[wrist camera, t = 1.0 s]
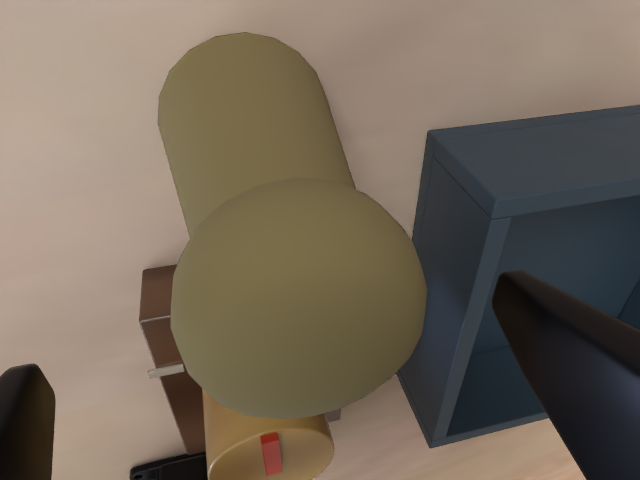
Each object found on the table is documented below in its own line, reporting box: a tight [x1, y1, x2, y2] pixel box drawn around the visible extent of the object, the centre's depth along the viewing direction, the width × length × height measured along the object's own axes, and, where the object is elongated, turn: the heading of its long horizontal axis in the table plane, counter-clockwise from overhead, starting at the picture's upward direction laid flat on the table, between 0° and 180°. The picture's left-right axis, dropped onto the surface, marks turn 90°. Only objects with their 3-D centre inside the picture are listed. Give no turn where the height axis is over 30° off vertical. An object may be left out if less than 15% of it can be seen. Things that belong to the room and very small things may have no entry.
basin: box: [396, 105, 640, 448], centre depth 23 cm, size 16×16×5 cm
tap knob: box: [202, 388, 334, 480], centre depth 18 cm, size 4×4×5 cm
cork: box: [158, 32, 428, 419], centre depth 13 cm, size 6×6×11 cm
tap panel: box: [139, 265, 341, 455], centre depth 22 cm, size 11×9×3 cm
